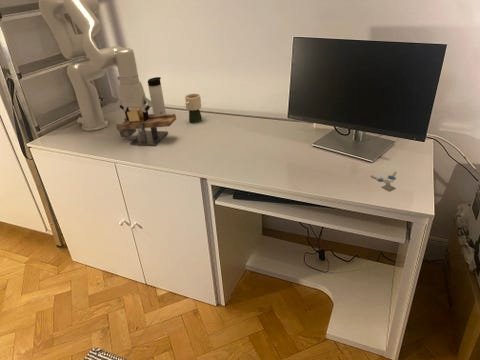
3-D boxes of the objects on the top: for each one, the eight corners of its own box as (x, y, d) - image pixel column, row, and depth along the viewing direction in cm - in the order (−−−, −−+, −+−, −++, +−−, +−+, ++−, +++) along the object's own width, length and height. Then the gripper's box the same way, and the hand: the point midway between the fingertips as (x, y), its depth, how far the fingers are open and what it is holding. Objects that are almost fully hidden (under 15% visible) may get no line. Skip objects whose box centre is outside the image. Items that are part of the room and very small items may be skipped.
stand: (130, 145, 162) (125, 124, 157) (144, 132, 174) (140, 113, 169) (155, 146, 159) (151, 125, 155) (168, 133, 171) (165, 113, 166)
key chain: (395, 193, 118) (395, 190, 118) (368, 189, 121) (368, 187, 121) (396, 172, 130) (396, 170, 129) (371, 169, 132) (372, 167, 132)
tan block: (130, 125, 162) (126, 112, 159) (136, 120, 166) (132, 108, 163) (140, 124, 161) (136, 111, 158) (145, 120, 165) (142, 107, 162)
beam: (120, 138, 165) (115, 124, 162) (129, 131, 172) (125, 118, 169) (171, 135, 158) (167, 120, 155) (178, 127, 165) (175, 113, 162)
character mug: (196, 116, 188) (193, 91, 182) (208, 118, 185) (205, 93, 178) (183, 124, 181) (179, 98, 174) (194, 126, 177) (191, 99, 171)
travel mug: (165, 118, 189) (159, 79, 179) (152, 119, 189) (145, 79, 179) (167, 114, 194) (161, 75, 184) (155, 114, 194) (148, 76, 184)
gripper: (106, 82, 153) (115, 122, 162) (144, 82, 149) (152, 123, 158) (115, 77, 159) (124, 116, 168) (152, 77, 155) (159, 117, 164)
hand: (137, 119), depth 163 cm, fingers open, 7 cm apart
